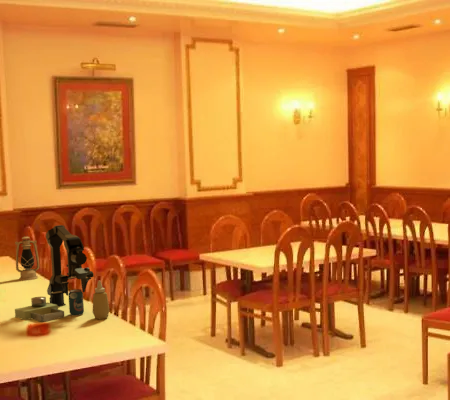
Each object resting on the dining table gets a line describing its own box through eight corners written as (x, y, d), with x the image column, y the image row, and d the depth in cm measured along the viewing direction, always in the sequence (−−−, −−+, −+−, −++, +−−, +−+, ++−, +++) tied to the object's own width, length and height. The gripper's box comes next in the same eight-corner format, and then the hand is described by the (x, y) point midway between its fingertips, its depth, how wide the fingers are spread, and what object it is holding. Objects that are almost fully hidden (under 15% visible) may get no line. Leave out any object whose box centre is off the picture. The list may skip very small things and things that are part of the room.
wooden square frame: (52, 314, 358) (52, 308, 358) (64, 317, 351) (64, 311, 350) (30, 318, 350) (30, 312, 350) (42, 321, 342) (41, 315, 342)
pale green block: (47, 310, 368) (47, 294, 367) (58, 312, 361) (57, 297, 360) (15, 317, 356) (14, 301, 355) (25, 319, 348) (24, 303, 348)
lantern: (17, 281, 459) (14, 234, 456) (16, 278, 470) (13, 232, 468) (40, 278, 463) (37, 232, 461) (39, 276, 474) (36, 230, 472)
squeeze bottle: (113, 316, 347) (111, 279, 346) (103, 320, 340) (101, 282, 338) (99, 315, 350) (97, 279, 349) (89, 319, 343) (87, 282, 342)
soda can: (77, 316, 351) (75, 292, 350) (66, 315, 354) (65, 291, 353) (87, 313, 356) (85, 289, 356) (76, 312, 360) (75, 288, 359)
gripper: (65, 266, 341) (67, 299, 342) (99, 261, 354) (100, 292, 355) (53, 264, 349) (55, 296, 351) (86, 259, 362) (88, 289, 363)
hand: (75, 293), depth 355 cm, fingers open, 9 cm apart
